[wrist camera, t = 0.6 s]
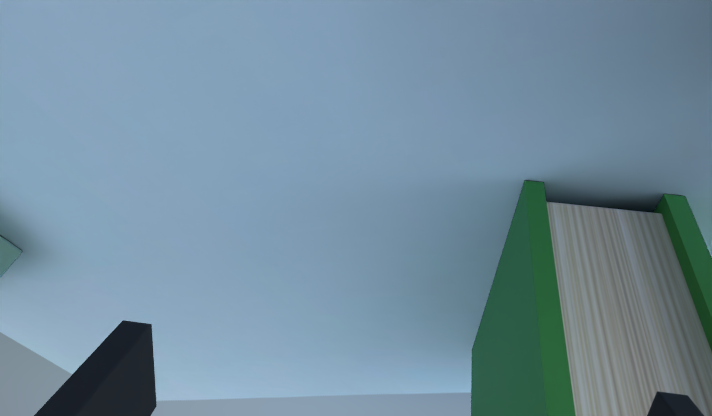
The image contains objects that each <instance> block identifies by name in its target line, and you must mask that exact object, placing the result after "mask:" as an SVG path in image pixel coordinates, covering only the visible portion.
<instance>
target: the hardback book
mask: <svg viewBox="0 0 712 416" xmlns="http://www.w3.org/2000/svg"><path fill="white" fill-rule="evenodd" d="M657 391H659V392H667V393H674V394H682V395H688V396H689V397H690V399H691V400H692V401H693V402H694V404H695V405H696V406H697V407H698V409H699V410H700V411H701V412H702V414H703V415H704V416H712V258H711V256H710V253H709V251H708V249H707V246H706V244H705V242H704V239H703V237H702V235H701V232H700V230H699V228H698V225H697V223H696V220H695V218H694V216H693V213H692V211H691V209H690V206H689V204H688V202H687V199H686V197H685V196H678V195H667V194H664V196H663V197H662V199H661V200H660V202H659V204H658V205H657V207H656V209H655V210H654V212H653V213H650V212H640V211H631V210H621V209H611V208H602V207H592V206H582V205H573V204H563V203H553V202H546V194H545V187H544V182H535V181H524V184H523V187H522V190H521V194H520V197H519V200H518V203H517V207H516V210H515V213H514V216H513V219H512V223H511V226H510V229H509V232H508V236H507V239H506V242H505V245H504V248H503V252H502V255H501V258H500V261H499V265H498V268H497V271H496V274H495V277H494V281H493V284H492V287H491V290H490V294H489V297H488V300H487V303H486V306H485V310H484V313H483V316H482V319H481V323H480V326H479V329H478V332H477V335H476V339H475V342H474V345H473V348H472V389H471V394H472V395H471V416H647V415H648V412H649V410H650V407H651V405H652V402H653V400H654V398H655V395H656V393H657Z"/></svg>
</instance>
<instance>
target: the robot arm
mask: <svg viewBox="0 0 712 416" xmlns="http://www.w3.org/2000/svg"><path fill="white" fill-rule="evenodd" d="M155 407H156V392H155V375H154V358H153V342H152V325H151V324H146V323H138V322H131V321H122V322H121V323H120V324H119V325H118V326H117V327H116V329H115V330H114V331H113V332H112V333H111V334H110V335H109V336H108V337H107V338H106V339H105V340H104V341H103V342H102V344H101V345H100V346H99V347H98V348H97V349H96V350H95V351H94V352H93V353H92V354H91V355H90V356H89V357H88V359H87V360H86V361H85V362H84V363H83V364H82V365H81V366H80V367H79V368H78V369H77V370H76V371H75V372H74V373H73V375H72V376H71V377H70V378H69V379H68V380H67V381H66V382H65V383H64V384H63V385H62V386H61V388H59V390H58V391H57V392H56V393H55V394H54V395H53V396H52V397H51V398H50V399H49V400H48V401H47V402H46V404H45V405H44V406H43V407H42V408H41V409H40V410H39V411H38V412H37V413H36V414H35V415H34V416H151V414H152V412H153V411H154V409H155ZM647 416H704V415H703V414H702V412H701V411H700V410H699V409H698V407H697V406H696V405H695V404H694V402H693V401H692V400H691V399H690V397H689V396H688V395H682V394H674V393H667V392H659V391H657V393H656V395H655V398H654V400H653V402H652V405H651V407H650V410H649V412H648V415H647Z"/></svg>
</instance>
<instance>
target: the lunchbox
mask: <svg viewBox="0 0 712 416" xmlns="http://www.w3.org/2000/svg"><path fill="white" fill-rule="evenodd" d="M21 253H22V251H21V250H20V249H18V248H17V247H16V246H14V245H13V244H11V243H10V242H8V241H7V240H6V239H4V238H3V237H1V236H0V278H1V277H2V275H3V274H4V273H5V272H6V271H7V269H8V268H9V267H10V266H11V265H12V264H13V262H14V261H15V260H16V259H17V258H18V257H19V255H20V254H21Z"/></svg>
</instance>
